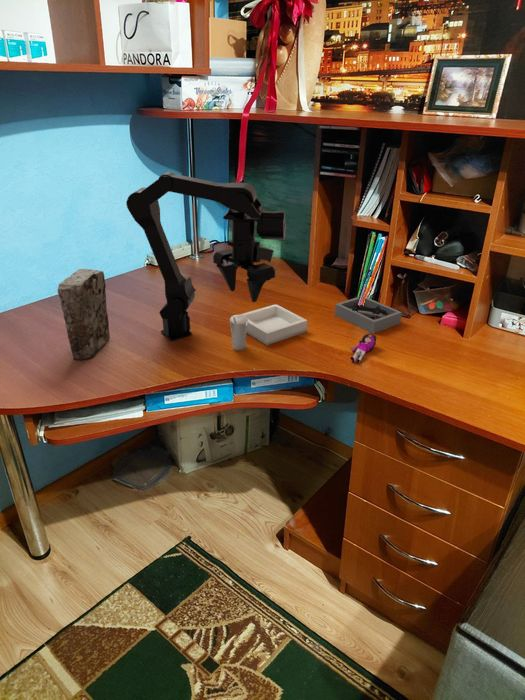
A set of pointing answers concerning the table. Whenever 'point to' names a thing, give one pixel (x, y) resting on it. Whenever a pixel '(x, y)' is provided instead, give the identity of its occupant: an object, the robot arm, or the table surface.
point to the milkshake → (239, 331)
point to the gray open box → (365, 322)
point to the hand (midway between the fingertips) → (243, 296)
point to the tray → (274, 324)
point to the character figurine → (364, 347)
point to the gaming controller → (369, 311)
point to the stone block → (85, 312)
